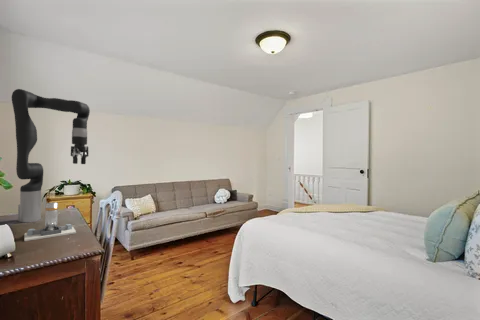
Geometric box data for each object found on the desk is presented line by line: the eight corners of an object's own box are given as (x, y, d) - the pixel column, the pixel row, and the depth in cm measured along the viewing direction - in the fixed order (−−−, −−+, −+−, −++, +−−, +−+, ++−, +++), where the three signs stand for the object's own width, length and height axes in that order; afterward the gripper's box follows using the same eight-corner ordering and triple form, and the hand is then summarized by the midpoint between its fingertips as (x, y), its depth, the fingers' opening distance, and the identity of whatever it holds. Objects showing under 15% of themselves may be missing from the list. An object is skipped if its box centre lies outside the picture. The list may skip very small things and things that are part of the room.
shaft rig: (24, 241, 107) (24, 234, 107) (24, 235, 115) (24, 228, 115) (76, 233, 120) (76, 227, 120) (72, 228, 128) (73, 222, 128)
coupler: (42, 233, 116) (43, 203, 116) (50, 230, 120) (51, 202, 120) (51, 234, 115) (52, 204, 115) (59, 231, 120) (60, 202, 120)
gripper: (66, 136, 144) (65, 163, 144) (79, 135, 137) (79, 164, 137) (79, 137, 150) (79, 163, 150) (93, 136, 143) (92, 164, 144)
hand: (79, 163), depth 144 cm, fingers open, 8 cm apart
